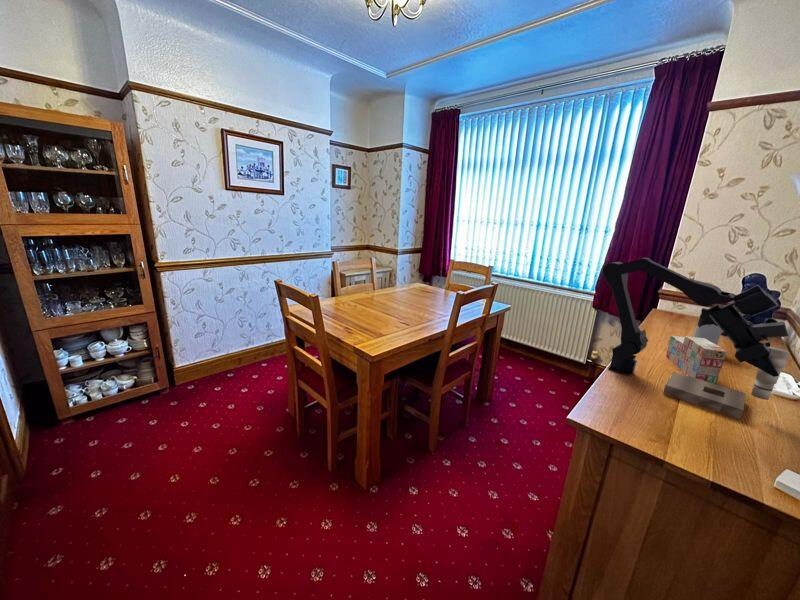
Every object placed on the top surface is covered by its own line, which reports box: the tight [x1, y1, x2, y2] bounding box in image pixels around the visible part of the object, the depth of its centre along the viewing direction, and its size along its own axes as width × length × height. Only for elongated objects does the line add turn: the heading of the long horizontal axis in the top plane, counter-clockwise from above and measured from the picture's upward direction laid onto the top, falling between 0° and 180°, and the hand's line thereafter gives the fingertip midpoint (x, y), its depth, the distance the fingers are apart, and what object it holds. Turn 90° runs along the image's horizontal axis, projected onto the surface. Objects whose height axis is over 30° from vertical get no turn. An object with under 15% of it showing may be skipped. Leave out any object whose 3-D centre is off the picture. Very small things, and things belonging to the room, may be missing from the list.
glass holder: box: [692, 314, 723, 345], centre depth 139 cm, size 9×14×15 cm, turn 148°
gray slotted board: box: [662, 371, 747, 420], centre depth 99 cm, size 17×14×3 cm
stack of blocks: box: [665, 335, 728, 385], centre depth 118 cm, size 21×6×12 cm, turn 163°
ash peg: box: [750, 346, 791, 401], centre depth 89 cm, size 4×4×14 cm
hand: (776, 373), depth 87 cm, fingers closed on ash peg, 4 cm apart
